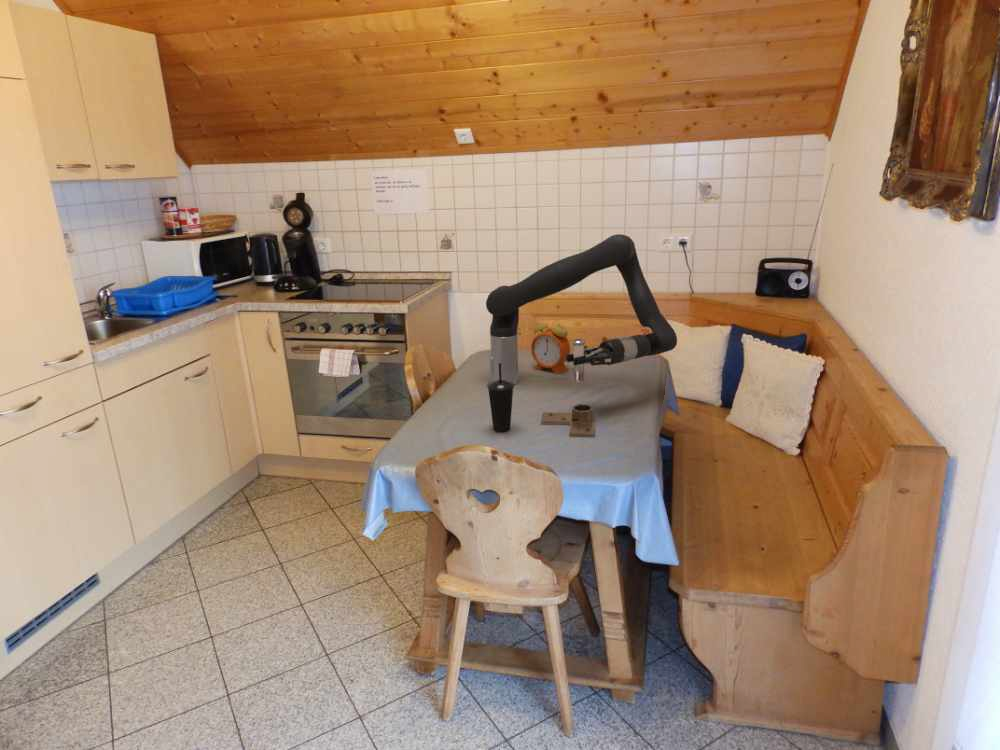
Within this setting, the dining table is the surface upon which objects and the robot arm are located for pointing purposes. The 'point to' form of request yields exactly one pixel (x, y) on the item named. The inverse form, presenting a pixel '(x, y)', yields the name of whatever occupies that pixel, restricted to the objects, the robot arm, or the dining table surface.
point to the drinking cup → (501, 403)
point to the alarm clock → (550, 347)
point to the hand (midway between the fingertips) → (570, 360)
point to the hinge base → (573, 420)
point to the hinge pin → (577, 352)
